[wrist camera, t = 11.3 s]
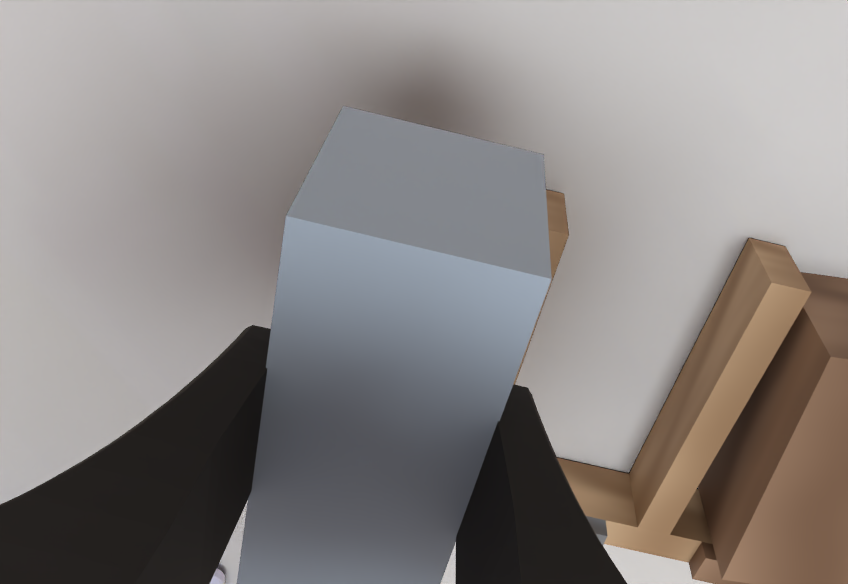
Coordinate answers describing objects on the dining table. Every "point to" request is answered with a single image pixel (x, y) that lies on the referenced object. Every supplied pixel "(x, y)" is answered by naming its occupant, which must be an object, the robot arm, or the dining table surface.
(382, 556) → the slate stick
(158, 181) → the dining table surface
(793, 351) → the walnut block
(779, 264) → the rack
